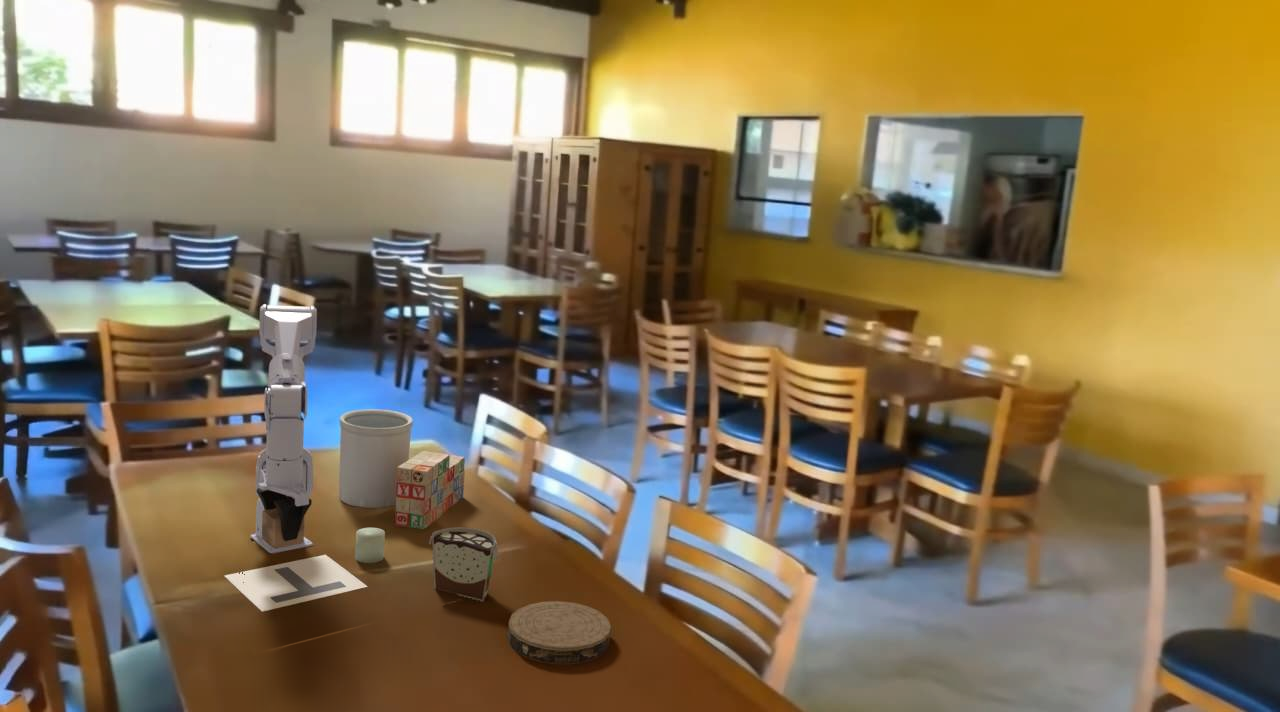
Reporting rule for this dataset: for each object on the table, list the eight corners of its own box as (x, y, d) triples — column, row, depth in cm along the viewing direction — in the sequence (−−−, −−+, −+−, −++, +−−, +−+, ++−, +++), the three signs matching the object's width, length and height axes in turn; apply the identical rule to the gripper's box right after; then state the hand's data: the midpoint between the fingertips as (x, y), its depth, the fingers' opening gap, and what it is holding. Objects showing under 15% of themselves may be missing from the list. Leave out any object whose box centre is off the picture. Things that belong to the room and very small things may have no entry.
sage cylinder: (350, 556, 180) (351, 530, 179) (375, 551, 183) (377, 525, 182) (362, 566, 176) (364, 539, 175) (388, 561, 179) (389, 534, 178)
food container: (507, 590, 172) (511, 535, 170) (491, 603, 166) (494, 547, 164) (445, 575, 175) (448, 521, 174) (426, 587, 170) (429, 532, 168)
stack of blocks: (436, 493, 217) (439, 439, 215) (463, 497, 216) (466, 443, 214) (394, 525, 197) (396, 466, 195) (423, 530, 196) (426, 470, 193)
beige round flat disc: (547, 609, 166) (548, 592, 166) (628, 638, 159) (629, 620, 158) (486, 644, 153) (487, 625, 152) (572, 677, 145) (573, 658, 144)
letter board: (223, 576, 167) (224, 575, 167) (325, 555, 179) (325, 554, 179) (262, 612, 155) (262, 611, 155) (367, 587, 168) (367, 586, 168)
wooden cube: (261, 539, 166) (262, 510, 165) (290, 533, 169) (291, 505, 169) (274, 549, 163) (275, 520, 162) (303, 543, 166) (304, 514, 165)
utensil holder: (423, 498, 214) (427, 419, 210) (370, 514, 201) (374, 431, 198) (375, 481, 221) (378, 405, 218) (321, 497, 209) (324, 416, 205)
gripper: (242, 447, 166) (241, 524, 168) (279, 471, 155) (277, 553, 158) (283, 442, 170) (282, 517, 173) (322, 465, 160) (319, 544, 163)
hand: (282, 533), depth 166 cm, fingers closed on wooden cube, 5 cm apart
